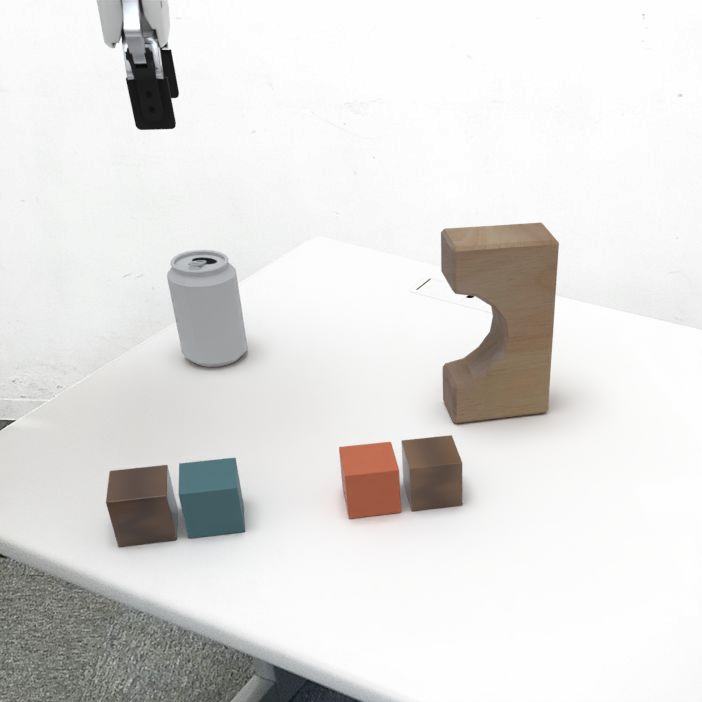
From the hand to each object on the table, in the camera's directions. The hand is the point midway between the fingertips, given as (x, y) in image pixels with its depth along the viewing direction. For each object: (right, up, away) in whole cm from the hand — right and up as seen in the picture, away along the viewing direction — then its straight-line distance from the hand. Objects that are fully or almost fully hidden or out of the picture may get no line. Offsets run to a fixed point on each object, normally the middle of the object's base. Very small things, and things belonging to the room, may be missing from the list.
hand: (159, 112), depth 85 cm
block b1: (-2, -37, +4) cm, 37 cm away
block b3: (+17, -34, +8) cm, 39 cm away
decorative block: (+29, -23, +24) cm, 44 cm away
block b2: (+3, -36, +5) cm, 36 cm away
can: (-5, -16, +30) cm, 34 cm away
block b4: (+23, -33, +10) cm, 42 cm away
